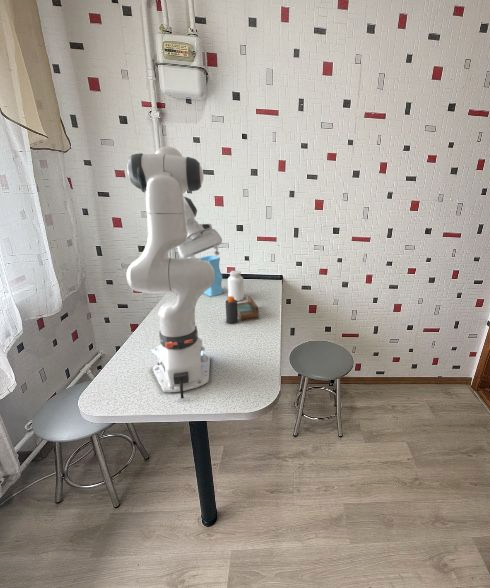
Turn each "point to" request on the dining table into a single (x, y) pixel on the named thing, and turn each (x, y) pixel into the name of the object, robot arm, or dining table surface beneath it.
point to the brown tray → (247, 310)
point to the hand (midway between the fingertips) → (208, 258)
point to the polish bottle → (231, 310)
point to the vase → (216, 285)
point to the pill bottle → (235, 285)
